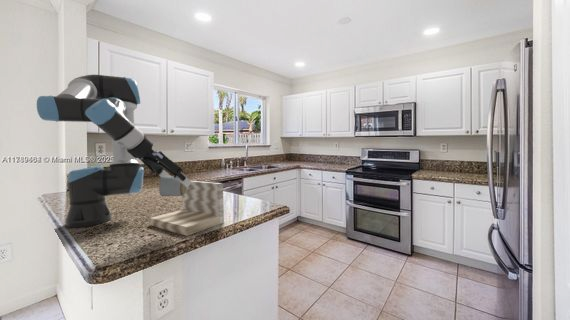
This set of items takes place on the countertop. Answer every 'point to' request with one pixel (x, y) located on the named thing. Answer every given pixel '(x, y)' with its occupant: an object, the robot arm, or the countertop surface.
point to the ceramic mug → (171, 186)
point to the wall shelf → (195, 210)
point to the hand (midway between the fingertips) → (180, 183)
